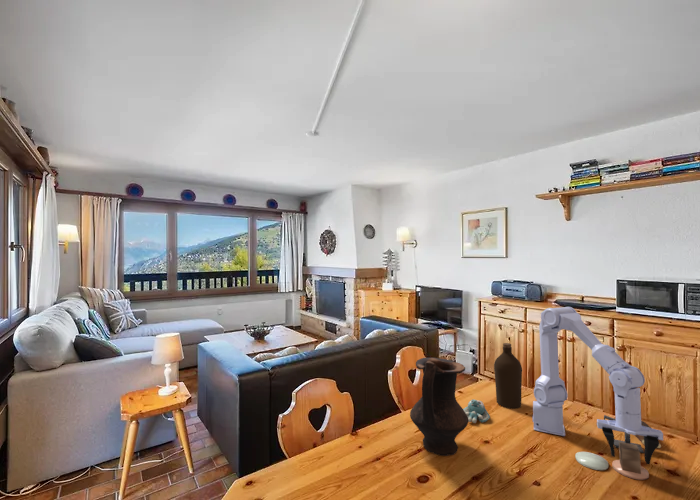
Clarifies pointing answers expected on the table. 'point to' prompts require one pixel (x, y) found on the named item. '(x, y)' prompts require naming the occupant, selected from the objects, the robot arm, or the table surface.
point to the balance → (626, 438)
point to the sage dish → (591, 461)
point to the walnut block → (629, 457)
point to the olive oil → (508, 378)
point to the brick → (641, 435)
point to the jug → (439, 406)
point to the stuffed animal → (476, 411)
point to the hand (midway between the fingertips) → (629, 458)
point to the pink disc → (618, 468)
